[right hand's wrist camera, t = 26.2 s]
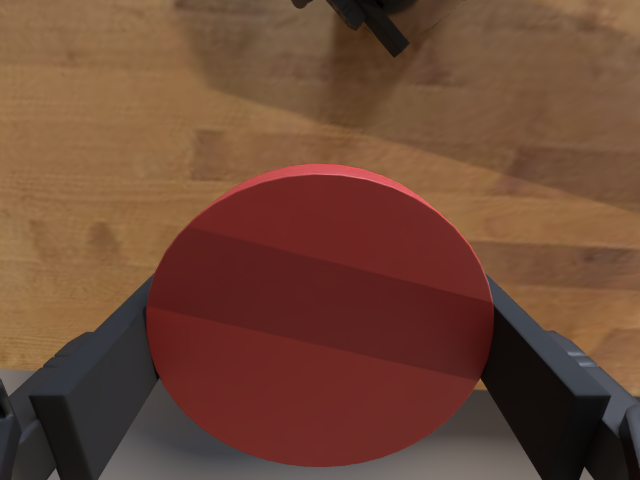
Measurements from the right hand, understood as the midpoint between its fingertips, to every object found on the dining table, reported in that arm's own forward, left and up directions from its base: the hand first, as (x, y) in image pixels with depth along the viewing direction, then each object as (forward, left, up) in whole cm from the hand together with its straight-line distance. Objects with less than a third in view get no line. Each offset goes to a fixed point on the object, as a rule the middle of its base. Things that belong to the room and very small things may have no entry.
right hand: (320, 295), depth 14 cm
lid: (0, 0, +3) cm, 3 cm away
